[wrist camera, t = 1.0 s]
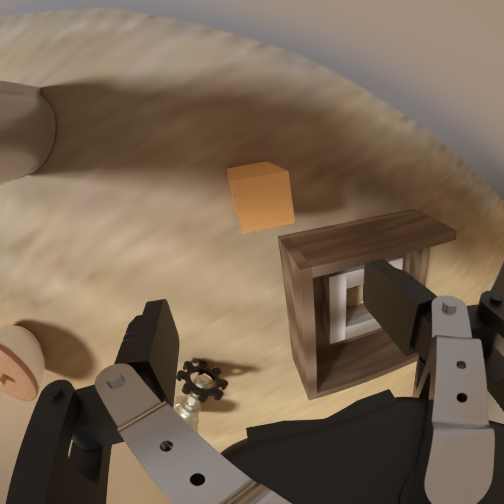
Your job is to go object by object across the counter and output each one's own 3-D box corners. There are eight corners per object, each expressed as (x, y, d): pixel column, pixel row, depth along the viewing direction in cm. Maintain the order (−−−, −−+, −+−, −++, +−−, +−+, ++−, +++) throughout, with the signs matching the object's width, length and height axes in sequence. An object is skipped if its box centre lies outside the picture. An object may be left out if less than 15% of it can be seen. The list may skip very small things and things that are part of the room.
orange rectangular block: (226, 168, 27) (232, 180, 20) (266, 161, 27) (288, 171, 20) (233, 207, 28) (242, 233, 21) (272, 199, 29) (295, 223, 21)
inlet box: (277, 236, 30) (300, 270, 23) (413, 209, 32) (456, 230, 24) (292, 357, 38) (308, 400, 30) (402, 322, 39) (430, 354, 32)
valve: (201, 412, 40) (226, 365, 37) (203, 445, 34) (230, 402, 31) (161, 404, 39) (179, 354, 35) (159, 437, 33) (176, 392, 29)
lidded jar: (-4, 337, 30) (-29, 374, 21) (7, 299, 28) (-26, 338, 19) (44, 376, 34) (25, 418, 25) (62, 345, 32) (40, 393, 23)
